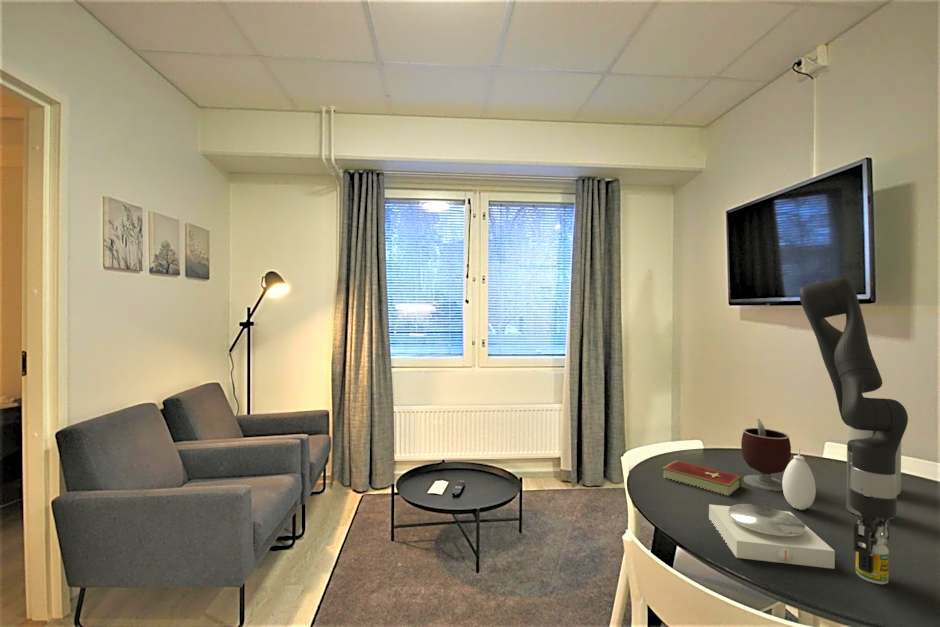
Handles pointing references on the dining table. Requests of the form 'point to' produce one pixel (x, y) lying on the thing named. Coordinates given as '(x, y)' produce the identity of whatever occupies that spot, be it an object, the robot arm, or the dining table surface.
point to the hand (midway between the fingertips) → (871, 565)
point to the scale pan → (767, 520)
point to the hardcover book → (702, 477)
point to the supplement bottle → (876, 564)
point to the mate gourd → (765, 455)
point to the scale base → (771, 543)
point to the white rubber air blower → (799, 483)
